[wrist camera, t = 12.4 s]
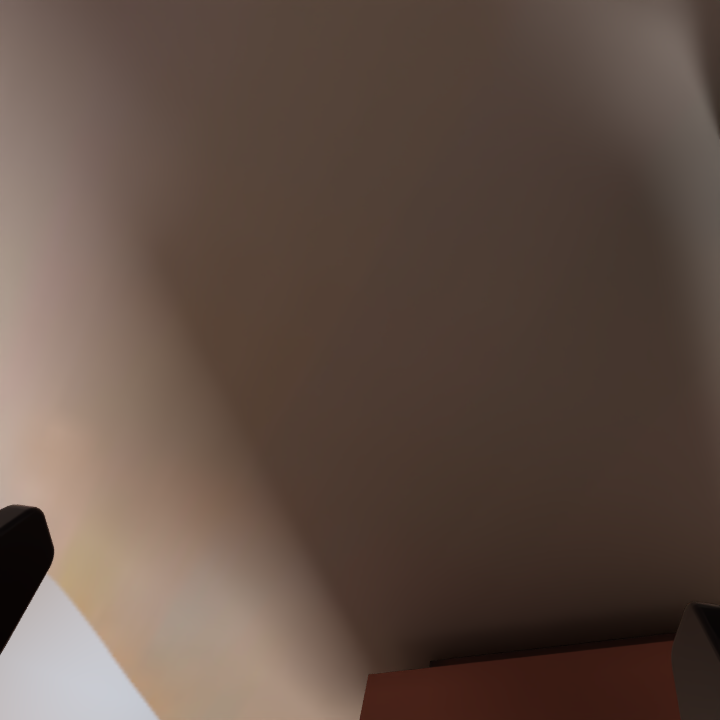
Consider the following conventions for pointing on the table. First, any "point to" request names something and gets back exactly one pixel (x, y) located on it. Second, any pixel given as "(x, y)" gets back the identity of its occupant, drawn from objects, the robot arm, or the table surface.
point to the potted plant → (535, 685)
